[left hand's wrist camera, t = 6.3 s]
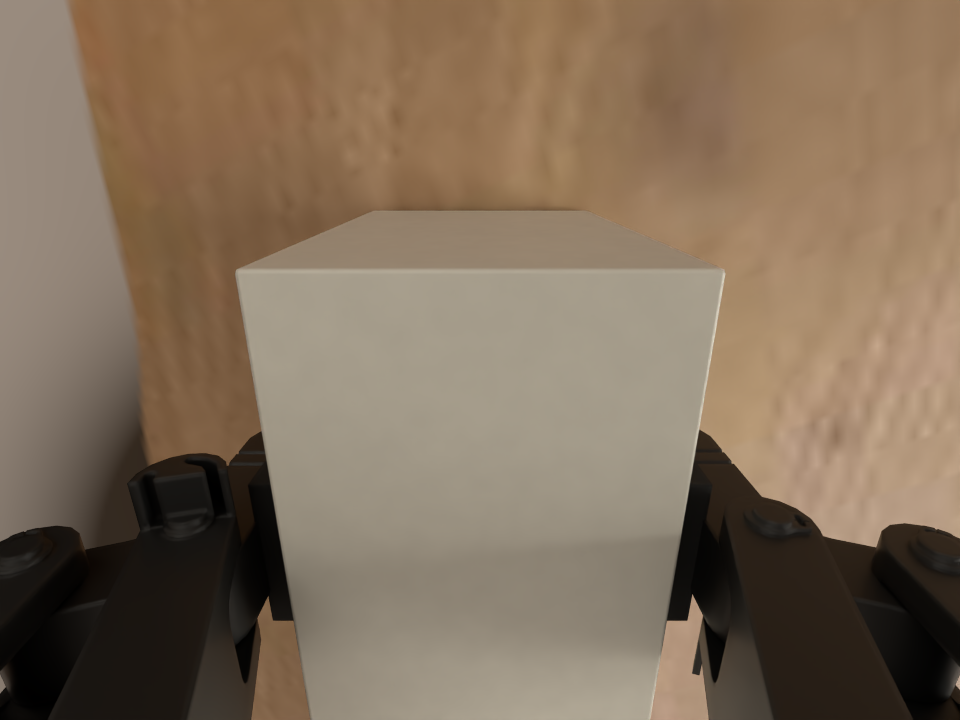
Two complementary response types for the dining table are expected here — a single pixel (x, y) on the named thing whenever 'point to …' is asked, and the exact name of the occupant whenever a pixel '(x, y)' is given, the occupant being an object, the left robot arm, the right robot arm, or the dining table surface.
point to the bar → (480, 457)
